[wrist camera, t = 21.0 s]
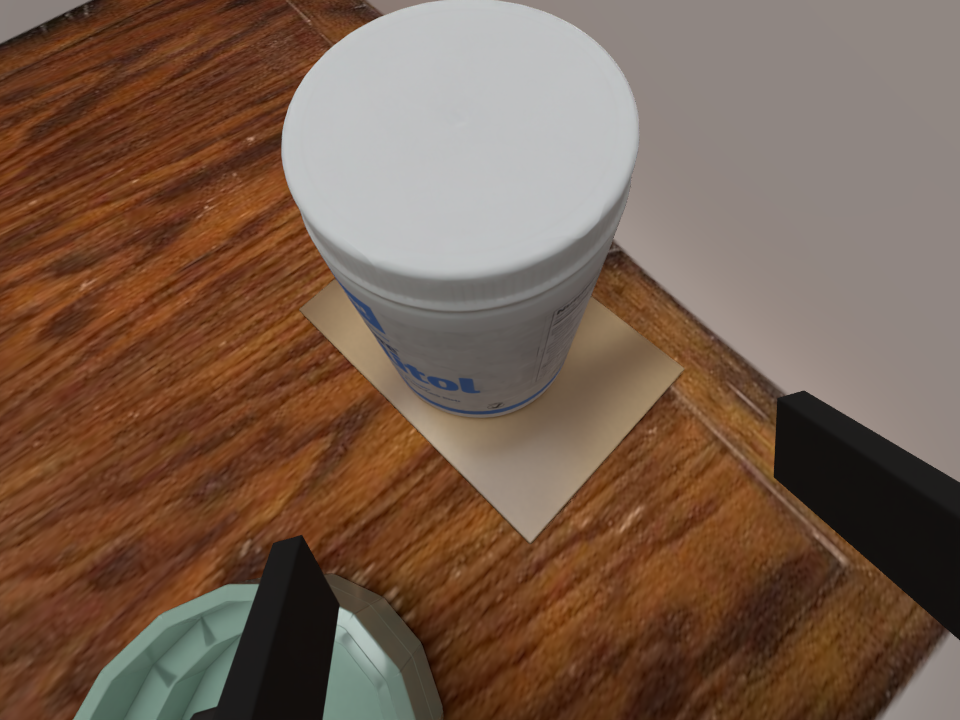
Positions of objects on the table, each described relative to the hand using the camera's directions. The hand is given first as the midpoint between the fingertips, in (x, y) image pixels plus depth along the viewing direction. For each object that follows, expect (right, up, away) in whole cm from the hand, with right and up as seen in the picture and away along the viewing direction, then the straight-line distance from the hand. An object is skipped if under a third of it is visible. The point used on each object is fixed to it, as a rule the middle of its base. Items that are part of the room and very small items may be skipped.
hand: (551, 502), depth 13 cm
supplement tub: (-2, +5, +13) cm, 14 cm away
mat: (-2, +5, +14) cm, 14 cm away
